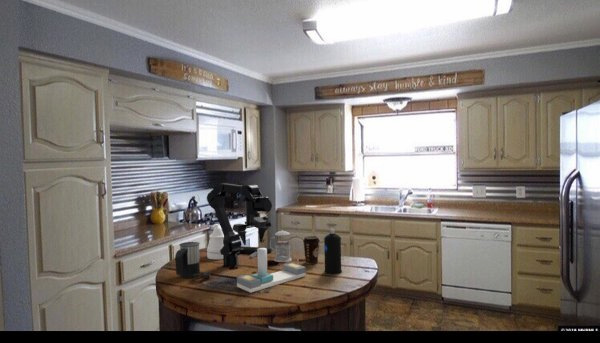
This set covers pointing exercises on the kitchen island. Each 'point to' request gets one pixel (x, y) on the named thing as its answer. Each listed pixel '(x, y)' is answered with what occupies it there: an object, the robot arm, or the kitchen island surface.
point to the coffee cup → (311, 249)
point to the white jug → (215, 243)
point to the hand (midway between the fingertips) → (253, 243)
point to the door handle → (251, 251)
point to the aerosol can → (332, 253)
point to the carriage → (262, 266)
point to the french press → (282, 247)
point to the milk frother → (188, 261)
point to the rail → (287, 274)
